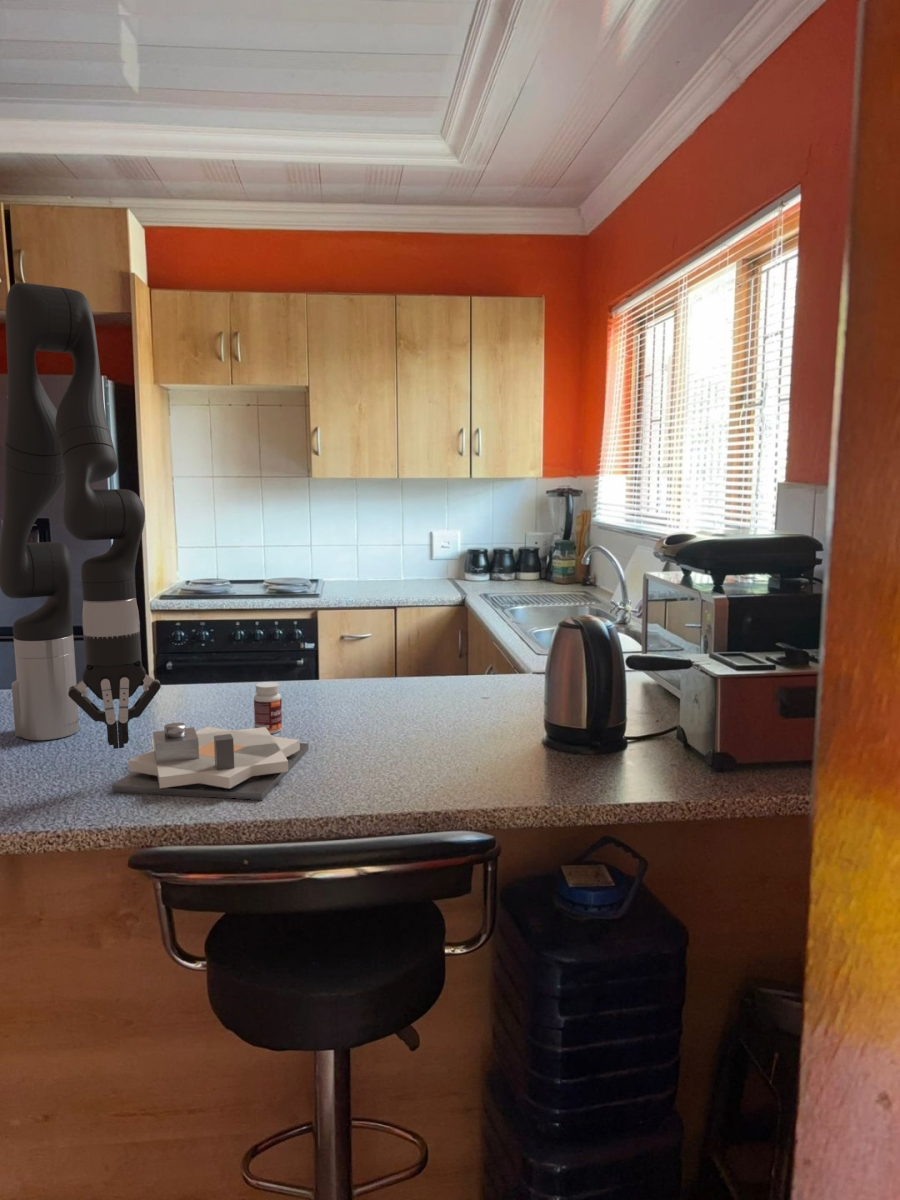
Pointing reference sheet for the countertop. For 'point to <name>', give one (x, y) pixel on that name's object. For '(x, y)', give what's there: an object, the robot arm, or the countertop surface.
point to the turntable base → (247, 789)
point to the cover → (175, 743)
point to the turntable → (222, 758)
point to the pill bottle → (268, 707)
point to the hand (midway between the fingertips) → (118, 746)
